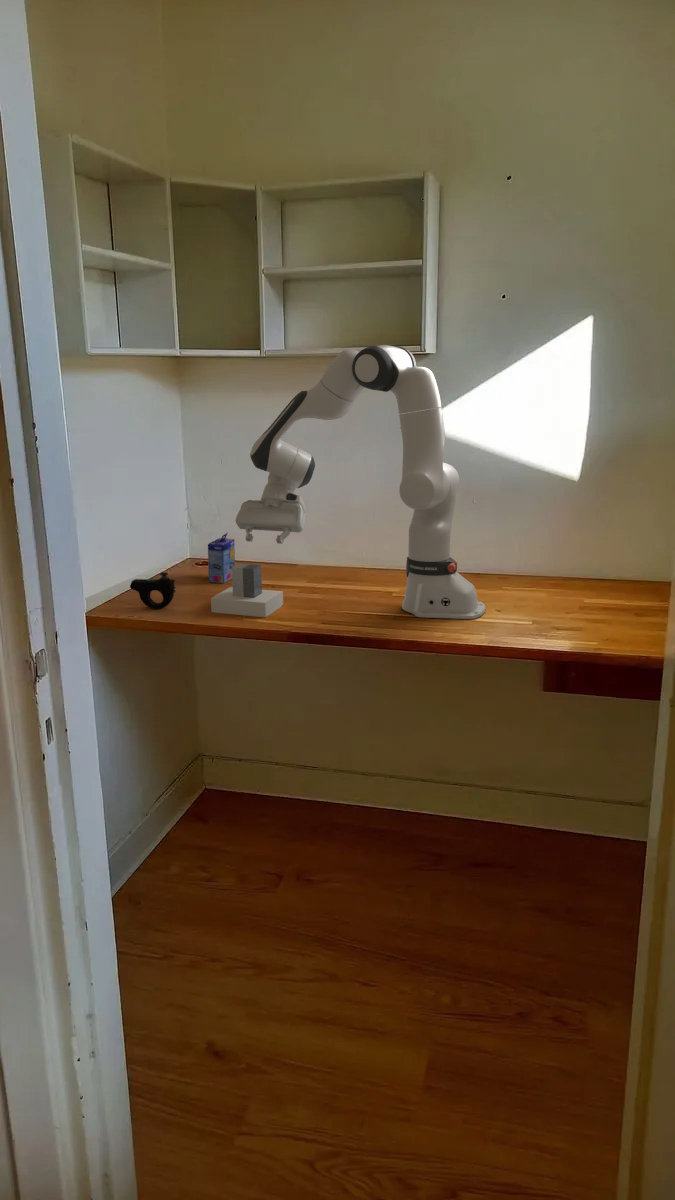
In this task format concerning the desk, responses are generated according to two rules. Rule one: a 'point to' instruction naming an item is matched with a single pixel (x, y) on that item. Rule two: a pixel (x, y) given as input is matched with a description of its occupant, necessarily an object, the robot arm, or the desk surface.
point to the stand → (247, 603)
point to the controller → (161, 585)
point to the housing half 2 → (252, 581)
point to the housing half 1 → (238, 579)
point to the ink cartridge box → (221, 559)
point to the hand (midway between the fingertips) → (263, 541)
